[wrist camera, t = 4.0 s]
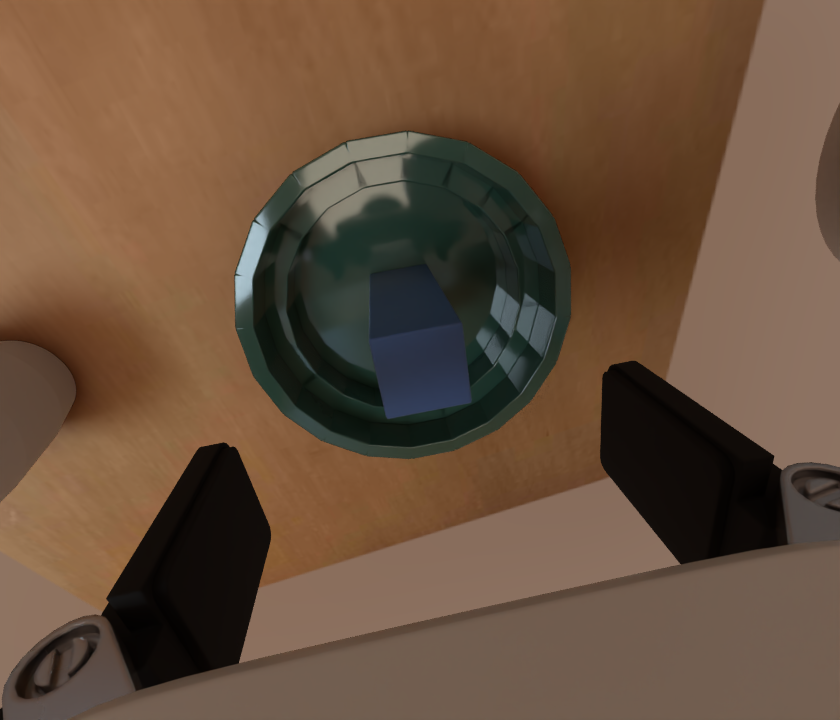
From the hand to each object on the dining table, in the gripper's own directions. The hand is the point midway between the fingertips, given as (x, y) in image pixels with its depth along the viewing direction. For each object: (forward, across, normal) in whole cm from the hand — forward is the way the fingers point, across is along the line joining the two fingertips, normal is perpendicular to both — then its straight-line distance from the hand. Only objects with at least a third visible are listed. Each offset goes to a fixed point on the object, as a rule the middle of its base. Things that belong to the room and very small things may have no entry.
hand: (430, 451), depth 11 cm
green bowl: (+15, 0, 0) cm, 15 cm away
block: (+14, 0, 0) cm, 14 cm away
